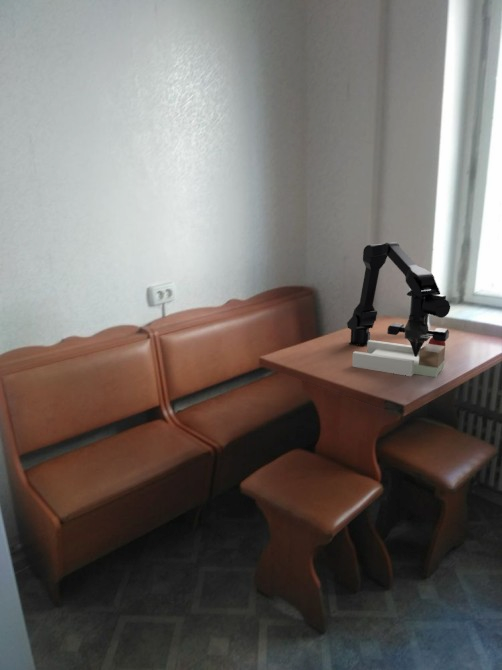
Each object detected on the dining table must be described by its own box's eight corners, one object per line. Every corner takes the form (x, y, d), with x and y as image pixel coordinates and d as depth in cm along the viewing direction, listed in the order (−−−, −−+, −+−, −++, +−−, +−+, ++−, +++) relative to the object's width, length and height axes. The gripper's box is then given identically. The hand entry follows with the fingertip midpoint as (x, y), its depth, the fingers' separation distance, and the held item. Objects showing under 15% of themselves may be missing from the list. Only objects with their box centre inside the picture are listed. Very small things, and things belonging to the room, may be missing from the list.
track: (352, 366, 171) (352, 352, 170) (368, 352, 185) (369, 339, 184) (411, 376, 161) (412, 361, 160) (424, 361, 175) (425, 347, 173)
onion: (445, 357, 178) (447, 335, 176) (428, 356, 179) (430, 335, 177) (443, 352, 184) (444, 331, 182) (426, 351, 185) (428, 330, 183)
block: (418, 364, 163) (419, 349, 162) (425, 357, 169) (426, 343, 168) (437, 367, 160) (438, 352, 158) (444, 360, 166) (445, 346, 165)
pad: (413, 373, 163) (414, 364, 163) (421, 363, 172) (422, 355, 172) (435, 377, 160) (436, 368, 159) (443, 366, 169) (443, 358, 168)
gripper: (383, 313, 161) (380, 358, 165) (443, 319, 151) (439, 368, 156) (393, 306, 170) (391, 349, 174) (451, 312, 161) (447, 358, 165)
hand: (415, 356), depth 167 cm, fingers closed
